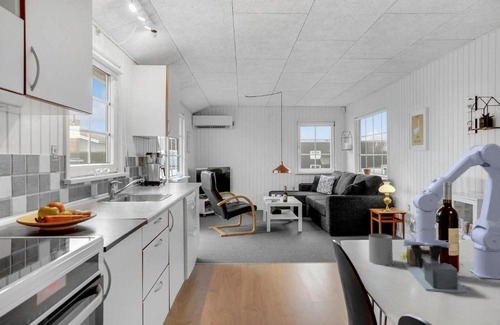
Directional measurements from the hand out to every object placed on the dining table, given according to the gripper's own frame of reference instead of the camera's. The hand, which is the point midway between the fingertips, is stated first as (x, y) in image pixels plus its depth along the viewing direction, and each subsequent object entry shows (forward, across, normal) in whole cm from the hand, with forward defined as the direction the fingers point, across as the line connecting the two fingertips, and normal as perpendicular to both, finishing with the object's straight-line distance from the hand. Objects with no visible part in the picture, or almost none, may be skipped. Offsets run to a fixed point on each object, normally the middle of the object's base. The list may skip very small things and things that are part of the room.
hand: (426, 267), depth 110 cm
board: (+2, 0, -5) cm, 5 cm away
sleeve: (+2, 0, -13) cm, 13 cm away
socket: (+2, 0, +6) cm, 6 cm away
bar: (+1, 0, -2) cm, 2 cm away
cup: (+2, -13, +10) cm, 17 cm away
